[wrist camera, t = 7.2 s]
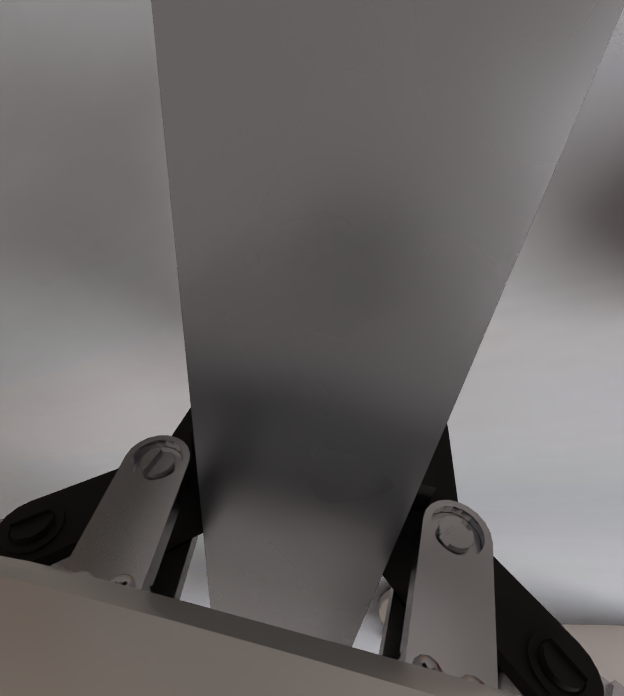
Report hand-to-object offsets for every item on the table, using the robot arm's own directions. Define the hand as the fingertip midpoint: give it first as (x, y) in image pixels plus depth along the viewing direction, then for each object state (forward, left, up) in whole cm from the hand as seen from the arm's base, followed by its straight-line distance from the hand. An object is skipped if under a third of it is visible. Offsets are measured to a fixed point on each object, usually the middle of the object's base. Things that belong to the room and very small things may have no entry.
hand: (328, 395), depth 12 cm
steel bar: (0, 0, -1) cm, 1 cm away
